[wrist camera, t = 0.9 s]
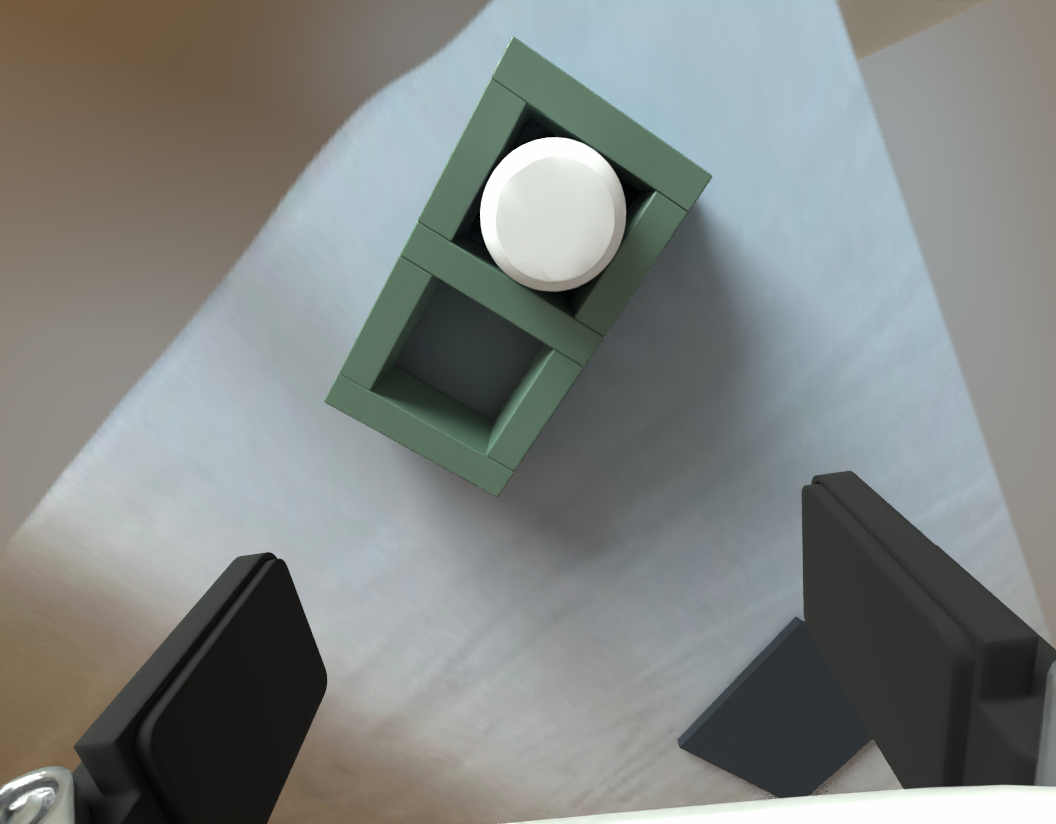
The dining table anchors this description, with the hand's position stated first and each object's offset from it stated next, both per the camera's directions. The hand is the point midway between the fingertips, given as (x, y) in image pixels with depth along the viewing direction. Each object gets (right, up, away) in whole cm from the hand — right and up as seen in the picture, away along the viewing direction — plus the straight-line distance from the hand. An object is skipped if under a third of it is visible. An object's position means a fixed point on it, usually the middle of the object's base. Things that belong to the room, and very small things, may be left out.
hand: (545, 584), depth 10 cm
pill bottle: (+1, +13, +17) cm, 22 cm away
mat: (+17, -17, +27) cm, 36 cm away
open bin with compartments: (-1, +10, +18) cm, 21 cm away
